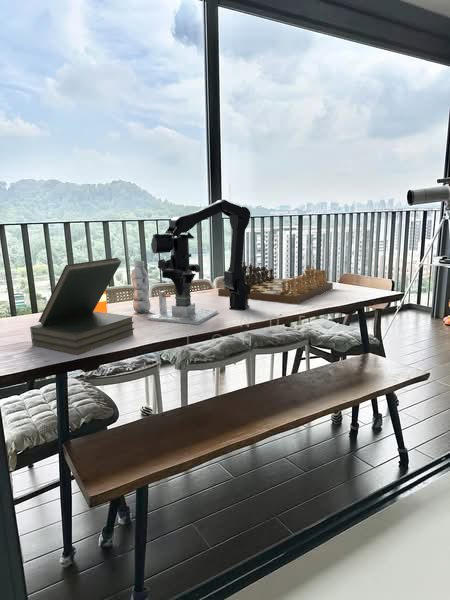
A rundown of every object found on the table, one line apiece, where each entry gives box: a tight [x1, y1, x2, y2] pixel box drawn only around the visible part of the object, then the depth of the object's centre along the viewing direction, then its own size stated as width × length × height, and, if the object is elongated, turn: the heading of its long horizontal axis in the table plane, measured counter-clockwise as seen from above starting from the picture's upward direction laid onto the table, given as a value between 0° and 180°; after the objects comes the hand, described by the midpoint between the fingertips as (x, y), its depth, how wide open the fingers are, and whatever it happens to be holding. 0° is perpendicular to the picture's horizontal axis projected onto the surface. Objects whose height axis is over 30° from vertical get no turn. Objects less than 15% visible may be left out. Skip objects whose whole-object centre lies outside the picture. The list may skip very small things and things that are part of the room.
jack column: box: [174, 283, 192, 306], centre depth 155 cm, size 4×4×8 cm
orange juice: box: [94, 290, 108, 313], centre depth 158 cm, size 8×9×20 cm
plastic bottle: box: [130, 260, 152, 314], centre depth 162 cm, size 6×7×20 cm
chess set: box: [217, 261, 334, 305], centre depth 198 cm, size 40×40×15 cm
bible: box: [29, 257, 135, 356], centre depth 127 cm, size 23×20×25 cm
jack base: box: [147, 290, 219, 325], centre depth 155 cm, size 20×18×9 cm
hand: (182, 294), depth 155 cm, fingers closed on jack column, 4 cm apart
